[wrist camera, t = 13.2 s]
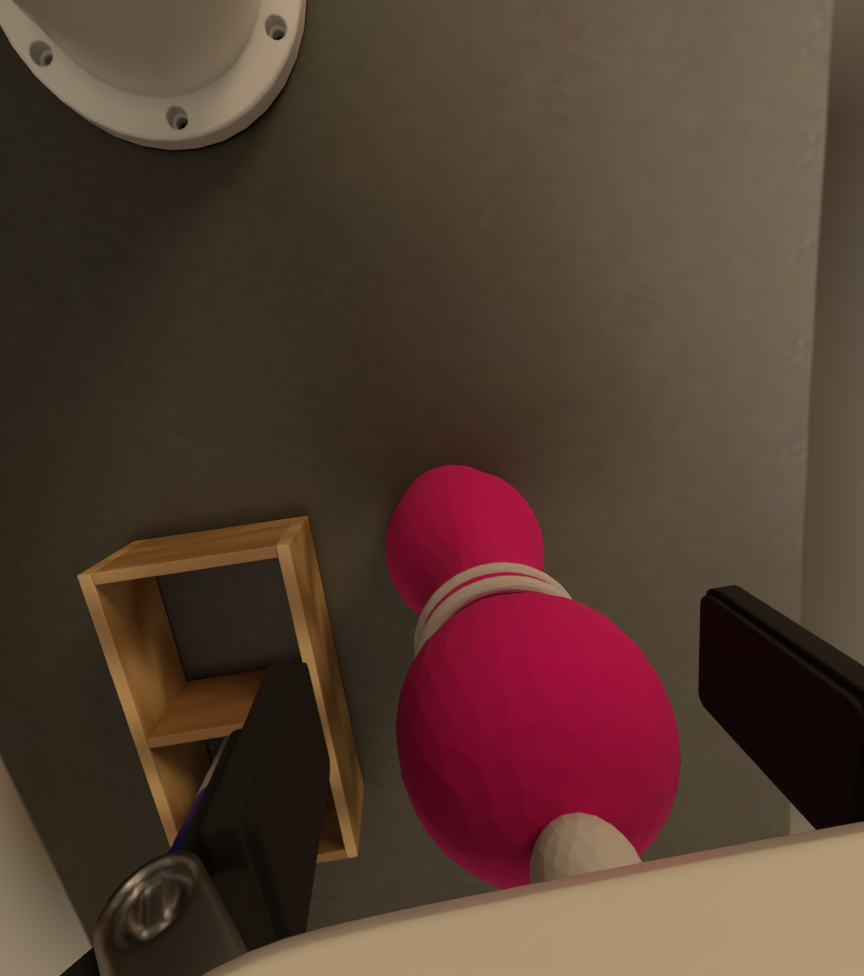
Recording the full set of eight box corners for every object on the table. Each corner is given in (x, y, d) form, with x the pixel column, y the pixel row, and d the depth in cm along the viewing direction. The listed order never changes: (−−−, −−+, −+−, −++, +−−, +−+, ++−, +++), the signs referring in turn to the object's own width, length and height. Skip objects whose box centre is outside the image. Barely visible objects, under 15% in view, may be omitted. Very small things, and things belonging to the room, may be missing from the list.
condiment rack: (133, 540, 25) (76, 575, 20) (308, 515, 25) (288, 543, 21) (216, 811, 29) (183, 887, 25) (364, 785, 29) (357, 856, 25)
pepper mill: (361, 533, 26) (240, 1021, 6) (439, 428, 25) (589, 615, 5) (464, 601, 27) (629, 1177, 8) (542, 504, 26) (968, 881, 6)
